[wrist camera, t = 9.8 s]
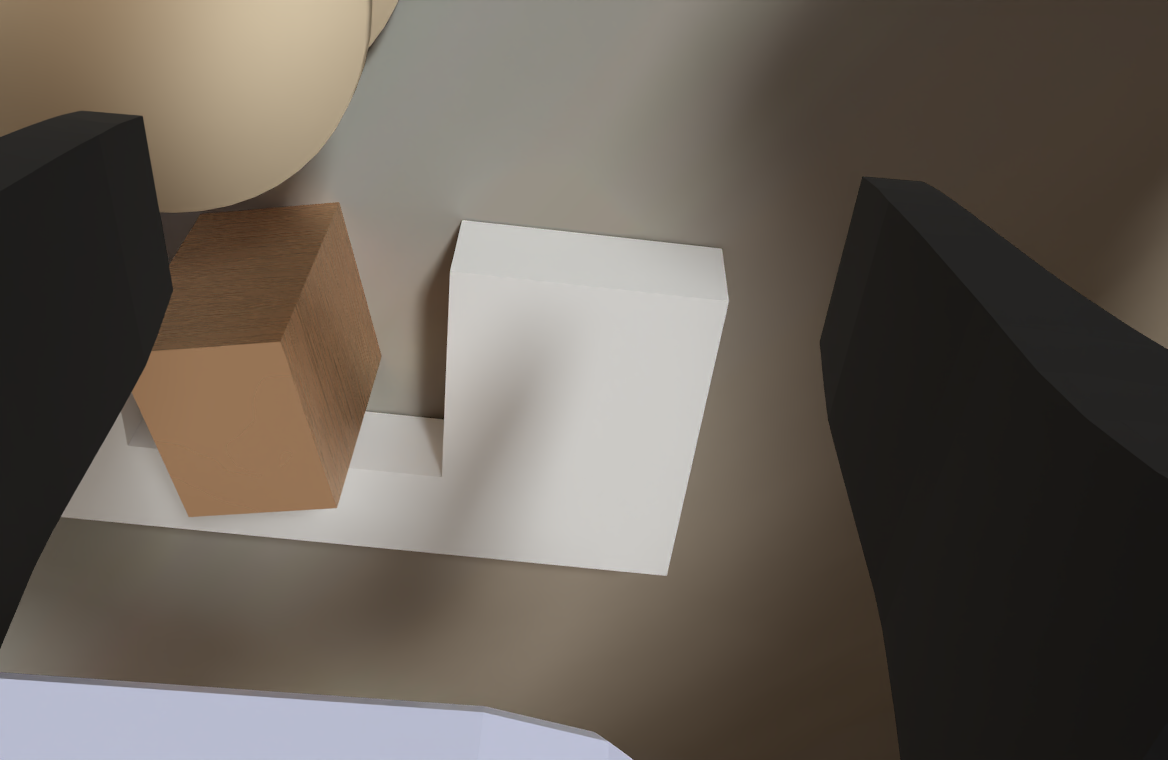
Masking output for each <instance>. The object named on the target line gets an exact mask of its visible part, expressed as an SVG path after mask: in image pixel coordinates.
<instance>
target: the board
mask: <svg viewBox="0 0 1168 760" xmlns="http://www.w3.org/2000/svg"><path fill="white" fill-rule="evenodd" d="M728 303H729V298H728V291H727V283H726V276H725V268H724V260H723V253H722V249H721V248H712V247H703V246H694V245H684V244H675V243H666V242H657V241H648V240H639V239H630V238H621V237H612V236H603V235H593V234H584V233H575V232H566V231H557V230H548V229H539V228H530V227H521V226H511V225H502V224H493V223H484V222H475V221H466V220H462V223H461V227H460V231H459V235H458V240H457V244H456V248H455V252H454V257H453V261H452V265H451V269H450V285H449V310H448V335H447V360H446V385H445V410H444V419H434V418H425V417H415V416H405V415H395V414H385V413H376V412H366V411H365V414H364V418H363V421H362V425H361V428H360V431H359V435H358V438H357V442H356V445H355V448H354V452H353V455H352V459H351V462H350V465H349V469H348V472H347V476H346V479H345V483H344V486H343V489H342V493H341V496H340V500H339V503H338V506H337V508H332V509H315V510H299V511H282V512H265V513H249V514H232V515H215V516H199V517H188V514H187V512H186V510H185V508H184V506H183V503H182V501H181V499H180V497H179V495H178V493H177V490H176V488H175V486H174V484H173V482H172V479H171V477H170V475H169V473H168V471H167V468H166V466H165V464H164V462H163V460H162V457H161V455H160V453H159V451H158V449H157V447H156V444H155V442H154V440H153V438H152V436H151V433H150V431H149V429H148V427H147V425H146V422H145V420H144V418H143V416H142V414H141V411H140V409H139V407H138V405H137V403H136V401H135V398H134V396H133V394H132V392H131V394H130V396H129V398H128V399H127V401H126V403H125V405H124V407H123V408H122V410H121V412H120V414H119V416H118V417H117V419H116V421H115V423H114V425H113V426H112V428H111V430H110V432H109V433H108V435H107V437H106V439H105V440H104V442H103V444H102V446H101V447H100V449H99V451H98V453H97V454H96V456H95V458H94V459H93V461H92V463H91V465H90V466H89V468H88V470H87V472H86V473H85V475H84V477H83V479H82V480H81V482H80V484H79V486H78V487H77V489H76V491H75V493H74V494H73V496H72V498H71V500H70V501H69V503H68V505H67V507H66V508H65V510H64V512H63V514H62V515H61V517H66V518H77V519H87V520H97V521H107V522H118V523H128V524H138V525H149V526H159V527H169V528H180V529H190V530H200V531H211V532H221V533H231V534H241V535H252V536H262V537H272V538H283V539H293V540H303V541H314V542H324V543H334V544H345V545H355V546H365V547H375V548H386V549H396V550H406V551H417V552H427V553H437V554H448V555H458V556H468V557H478V558H489V559H499V560H509V561H520V562H530V563H540V564H551V565H561V566H571V567H582V568H592V569H602V570H612V571H623V572H633V573H643V574H654V575H664V576H667V572H668V568H669V563H670V559H671V554H672V550H673V546H674V541H675V537H676V532H677V528H678V524H679V519H680V515H681V510H682V506H683V501H684V497H685V493H686V488H687V484H688V479H689V475H690V471H691V466H692V462H693V457H694V453H695V449H696V444H697V440H698V435H699V431H700V426H701V422H702V418H703V413H704V409H705V404H706V400H707V396H708V391H709V387H710V382H711V378H712V373H713V369H714V365H715V360H716V356H717V351H718V347H719V343H720V338H721V334H722V329H723V325H724V321H725V316H726V312H727V307H728Z"/></svg>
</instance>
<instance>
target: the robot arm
mask: <svg viewBox="0 0 1168 760" xmlns="http://www.w3.org/2000/svg"><path fill="white" fill-rule="evenodd" d="M172 292H173V286H172V280H171V274H170V269H169V263H168V257H167V251H166V246H165V240H164V234H163V229H162V223H161V217H160V211H159V206H158V200H157V194H156V189H155V183H154V177H153V171H152V166H151V160H150V154H149V149H148V143H147V137H146V132H145V126H144V120H143V116H140V115H128V114H116V113H105V112H93V111H77V112H72V113H68V114H63V115H60V116H56V117H53V118H50V119H47V120H44V121H41V122H38V123H36V124H33V125H30V126H27V127H25V128H22V129H19V130H17V131H14V132H12V133H9V134H7V135H4V136H2V137H0V648H1V645H2V643H3V641H4V638H5V636H6V633H7V631H8V629H9V626H10V624H11V621H12V619H13V617H14V614H15V612H16V609H17V607H18V605H19V602H20V600H21V598H22V595H23V593H24V590H25V588H26V586H27V583H28V581H29V578H30V576H31V574H32V571H33V569H34V567H35V565H36V563H37V561H38V559H39V557H40V555H41V553H42V551H43V549H44V547H45V545H46V543H47V541H48V539H49V537H50V535H51V533H52V531H53V529H54V528H55V526H56V524H57V522H58V521H59V519H60V517H61V515H62V514H63V512H64V510H65V508H66V507H67V505H68V503H69V501H70V500H71V498H72V496H73V494H74V493H75V491H76V489H77V487H78V486H79V484H80V482H81V480H82V479H83V477H84V475H85V473H86V472H87V470H88V468H89V466H90V465H91V463H92V461H93V459H94V458H95V456H96V454H97V453H98V451H99V449H100V447H101V446H102V444H103V442H104V440H105V439H106V437H107V435H108V433H109V432H110V430H111V428H112V426H113V425H114V423H115V421H116V419H117V417H118V416H119V414H120V412H121V410H122V408H123V407H124V405H125V403H126V401H127V399H128V398H129V396H130V394H131V392H132V391H133V389H134V387H135V385H136V383H137V381H138V380H139V378H140V376H141V374H142V372H143V370H144V368H145V366H146V364H147V361H148V359H149V356H150V354H151V351H152V348H153V346H154V343H155V341H156V338H157V336H158V333H159V330H160V327H161V324H162V321H163V318H164V316H165V313H166V310H167V307H168V304H169V301H170V298H171V295H172ZM820 349H821V360H822V370H823V381H824V390H825V398H826V406H827V414H828V421H829V425H830V429H831V433H832V437H833V441H834V445H835V449H836V452H837V456H838V460H839V464H840V468H841V471H842V475H843V479H844V483H845V486H846V490H847V494H848V497H849V501H850V505H851V508H852V512H853V516H854V519H855V523H856V527H857V530H858V534H859V538H860V541H861V545H862V549H863V552H864V556H865V560H866V563H867V567H868V571H869V574H870V578H871V582H872V585H873V589H874V593H875V598H876V602H877V607H878V611H879V616H880V620H881V625H882V630H883V636H884V643H885V650H886V656H887V663H888V670H889V677H890V684H891V690H892V697H893V704H894V711H895V718H896V726H897V734H898V742H899V751H900V759H901V760H1168V349H1166V348H1164V347H1163V346H1161V345H1159V344H1158V343H1156V342H1154V341H1153V340H1151V339H1149V338H1148V337H1146V336H1144V335H1143V334H1141V333H1139V332H1138V331H1136V330H1134V329H1133V328H1131V327H1130V326H1128V325H1127V324H1125V323H1124V322H1122V321H1121V320H1119V319H1117V318H1116V317H1114V316H1113V315H1111V314H1110V313H1108V312H1107V311H1105V310H1104V309H1102V308H1101V307H1099V306H1098V305H1096V304H1095V303H1093V302H1091V301H1090V300H1088V299H1087V298H1085V297H1084V296H1082V295H1081V294H1080V293H1078V292H1077V291H1075V290H1074V289H1072V288H1071V287H1070V286H1068V285H1067V284H1065V283H1064V282H1062V281H1061V280H1060V279H1058V278H1057V277H1055V276H1054V275H1053V274H1051V273H1050V272H1048V271H1047V270H1046V269H1044V268H1043V267H1042V266H1040V265H1039V264H1038V263H1036V262H1035V261H1033V260H1032V259H1031V258H1029V257H1028V256H1027V255H1025V254H1024V253H1023V252H1021V251H1020V250H1019V249H1017V248H1016V247H1015V246H1013V245H1012V244H1011V243H1009V242H1008V241H1007V240H1005V239H1004V238H1003V237H1001V236H1000V235H999V234H997V233H996V232H995V231H994V230H992V229H991V228H990V227H988V226H987V225H986V224H984V223H983V222H982V221H980V220H979V219H978V218H976V217H975V216H974V215H972V214H971V213H970V212H968V211H967V210H966V209H964V208H963V207H961V206H960V205H959V204H957V203H956V202H955V201H953V200H952V199H950V198H949V197H947V196H946V195H944V194H943V193H941V192H940V191H938V190H937V189H935V188H933V187H932V186H930V185H928V184H926V183H924V182H920V181H909V180H897V179H885V178H873V177H862V180H861V184H860V188H859V192H858V196H857V200H856V204H855V207H854V211H853V215H852V219H851V223H850V227H849V231H848V235H847V238H846V242H845V246H844V250H843V254H842V258H841V262H840V266H839V269H838V273H837V277H836V281H835V285H834V289H833V293H832V296H831V300H830V304H829V308H828V312H827V316H826V320H825V324H824V327H823V331H822V335H821V339H820ZM0 760H633V759H632V758H630V757H629V756H628V755H626V754H625V753H624V752H622V751H621V750H619V749H618V748H617V747H615V746H614V745H613V744H611V743H610V742H608V741H607V740H606V739H604V738H603V737H601V736H600V735H598V734H597V733H595V732H593V731H588V730H584V729H580V728H576V727H571V726H567V725H563V724H558V723H554V722H550V721H546V720H541V719H537V718H533V717H529V716H524V715H520V714H516V713H512V712H507V711H503V710H499V709H495V708H490V707H486V706H474V705H460V704H446V703H432V702H417V701H403V700H389V699H375V698H360V697H346V696H332V695H318V694H304V693H289V692H275V691H261V690H247V689H232V688H218V687H204V686H190V685H175V684H161V683H147V682H133V681H118V680H104V679H90V678H76V677H62V676H47V675H33V674H19V673H5V672H0Z"/></svg>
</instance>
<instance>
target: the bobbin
mask: <svg viewBox="0 0 1168 760" xmlns="http://www.w3.org/2000/svg"><path fill="white" fill-rule="evenodd" d="M397 2H398V0H0V137H2V136H4V135H7V134H9V133H12V132H14V131H17V130H19V129H22V128H25V127H27V126H30V125H33V124H36V123H38V122H41V121H44V120H47V119H50V118H53V117H56V116H60V115H63V114H68V113H72V112H77V111H93V112H105V113H116V114H128V115H140V116H143V120H144V126H145V132H146V137H147V143H148V149H149V154H150V160H151V166H152V171H153V177H154V183H155V189H156V194H157V200H158V206H159V211H160V212H167V213H180V212H195V211H205V210H210V209H215V208H220V207H226V206H230V205H233V204H236V203H239V202H242V201H245V200H248V199H251V198H254V197H256V196H258V195H260V194H262V193H264V192H266V191H268V190H270V189H272V188H274V187H276V186H278V185H279V184H281V183H282V182H284V181H285V180H287V179H288V178H289V177H291V176H292V175H294V174H295V173H296V172H298V171H299V170H300V169H301V168H303V167H304V166H305V165H306V164H307V163H308V162H309V161H310V160H311V159H312V158H313V157H314V156H315V155H316V154H317V153H318V152H319V151H320V150H321V148H322V147H323V146H324V144H325V143H326V142H327V140H328V139H329V138H330V136H331V135H332V134H333V132H334V131H335V129H336V127H337V126H338V124H339V122H340V120H341V118H342V116H343V114H344V113H345V111H346V109H347V107H348V105H349V103H350V101H351V99H352V97H353V94H354V92H355V90H356V88H357V85H358V82H359V79H360V76H361V74H362V71H363V68H364V65H365V62H366V57H367V52H368V48H369V47H370V46H371V45H372V43H373V42H374V40H375V39H376V38H377V36H378V35H379V34H380V32H381V31H382V30H383V28H384V27H385V25H386V23H387V21H388V20H389V18H390V16H391V14H392V12H393V10H394V8H395V6H396V4H397Z"/></svg>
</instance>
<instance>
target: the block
mask: <svg viewBox="0 0 1168 760" xmlns="http://www.w3.org/2000/svg"><path fill="white" fill-rule="evenodd" d="M169 269H170V274H171V280H172V286H173V292H172V295H171V298H170V301H169V304H168V307H167V310H166V313H165V316H164V318H163V321H162V324H161V327H160V330H159V333H158V336H157V338H156V341H155V343H154V346H153V348H152V351H151V354H150V356H149V359H148V361H147V364H146V366H145V368H144V370H143V372H142V374H141V376H140V378H139V380H138V381H137V383H136V385H135V387H134V389H133V391H132V394H133V396H134V398H135V401H136V403H137V405H138V407H139V409H140V411H141V414H142V416H143V418H144V420H145V422H146V425H147V427H148V429H149V431H150V433H151V436H152V438H153V440H154V442H155V444H156V447H157V449H158V451H159V453H160V455H161V457H162V460H163V462H164V464H165V466H166V468H167V471H168V473H169V475H170V477H171V479H172V482H173V484H174V486H175V488H176V490H177V493H178V495H179V497H180V499H181V501H182V503H183V506H184V508H185V510H186V512H187V514H188V517H199V516H215V515H232V514H249V513H265V512H282V511H299V510H315V509H332V508H337V506H338V503H339V500H340V496H341V493H342V489H343V486H344V483H345V479H346V476H347V472H348V469H349V465H350V462H351V459H352V455H353V452H354V448H355V445H356V442H357V438H358V435H359V431H360V428H361V425H362V421H363V418H364V414H365V411H366V407H367V404H368V401H369V397H370V394H371V390H372V387H373V384H374V380H375V377H376V373H377V370H378V367H379V363H380V360H381V352H380V349H379V345H378V342H377V338H376V334H375V331H374V327H373V323H372V320H371V316H370V312H369V309H368V305H367V302H366V298H365V294H364V291H363V287H362V283H361V280H360V276H359V273H358V269H357V265H356V262H355V258H354V254H353V251H352V247H351V243H350V240H349V236H348V233H347V229H346V225H345V222H344V218H343V214H342V211H341V207H340V203H339V202H337V203H325V204H313V205H301V206H290V207H278V208H266V209H255V210H243V211H231V212H219V213H208V214H200V216H199V217H198V219H197V221H196V222H195V224H194V226H193V227H192V229H191V230H190V232H189V234H188V235H187V237H186V239H185V240H184V242H183V243H182V245H181V247H180V248H179V250H178V252H177V253H176V255H175V256H174V258H173V260H172V261H171V263H170V265H169Z"/></svg>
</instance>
